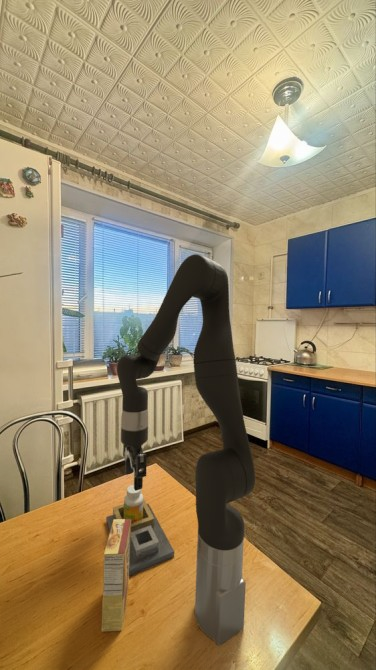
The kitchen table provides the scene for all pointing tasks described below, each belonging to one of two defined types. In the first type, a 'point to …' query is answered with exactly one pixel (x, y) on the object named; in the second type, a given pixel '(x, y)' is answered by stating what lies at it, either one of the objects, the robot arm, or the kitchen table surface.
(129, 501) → the supplement bottle
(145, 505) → the fitting plate
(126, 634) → the kitchen table surface
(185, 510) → the kitchen table surface
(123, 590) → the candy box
